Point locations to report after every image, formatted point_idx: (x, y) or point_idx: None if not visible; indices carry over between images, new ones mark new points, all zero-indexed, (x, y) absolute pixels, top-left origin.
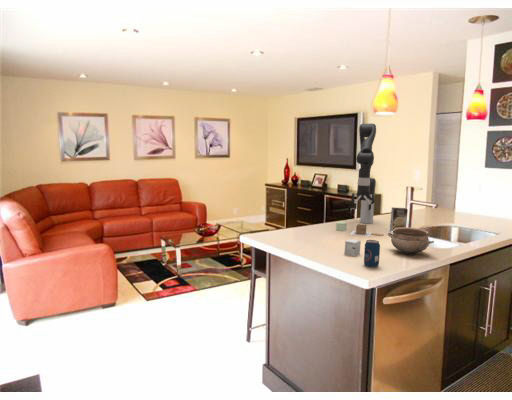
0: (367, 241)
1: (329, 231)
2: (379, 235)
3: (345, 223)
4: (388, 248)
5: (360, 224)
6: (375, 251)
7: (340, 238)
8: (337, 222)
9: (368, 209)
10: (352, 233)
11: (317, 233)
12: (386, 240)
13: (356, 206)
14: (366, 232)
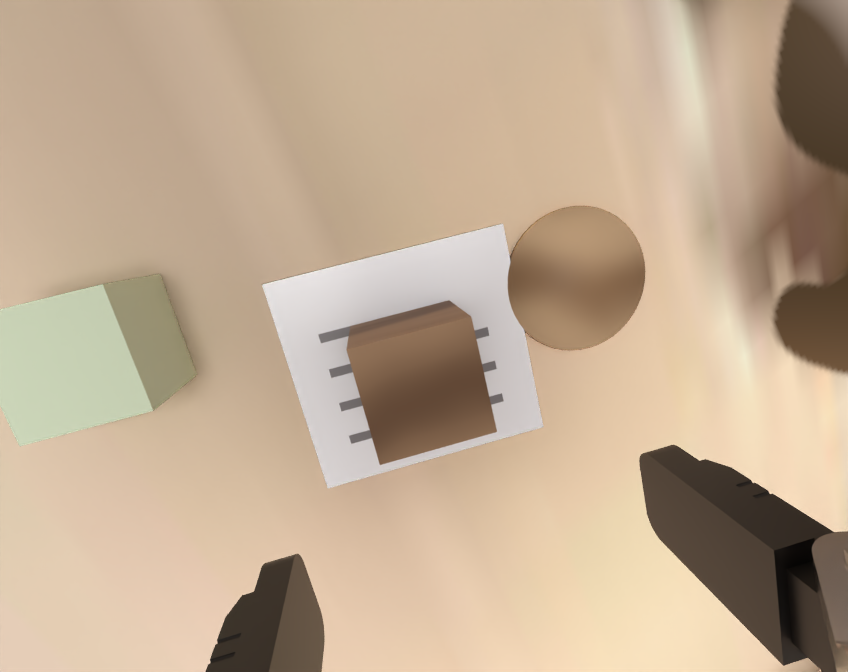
0: None
1: (57, 489)
2: (606, 301)
3: (134, 353)
4: (775, 664)
5: (387, 345)
6: None
7: (339, 667)
8: (6, 404)
9: (665, 543)
10: (332, 419)
11: (29, 662)
12: (709, 437)
13: (292, 624)
14: (435, 253)
